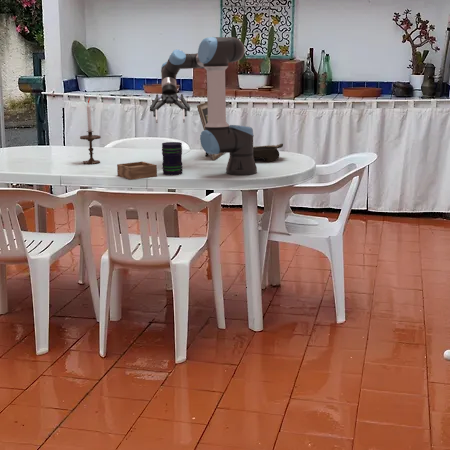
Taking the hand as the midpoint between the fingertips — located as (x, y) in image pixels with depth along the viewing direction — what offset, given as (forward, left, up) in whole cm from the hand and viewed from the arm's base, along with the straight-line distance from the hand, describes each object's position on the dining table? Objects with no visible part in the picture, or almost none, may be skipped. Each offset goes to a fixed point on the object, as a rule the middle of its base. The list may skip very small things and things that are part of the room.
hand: (170, 121), depth 372 cm
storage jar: (-10, +5, -25) cm, 27 cm away
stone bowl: (-2, -56, -25) cm, 61 cm away
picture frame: (+26, -43, -25) cm, 56 cm away
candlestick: (+46, +22, -25) cm, 57 cm away
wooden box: (-5, +22, -25) cm, 34 cm away
